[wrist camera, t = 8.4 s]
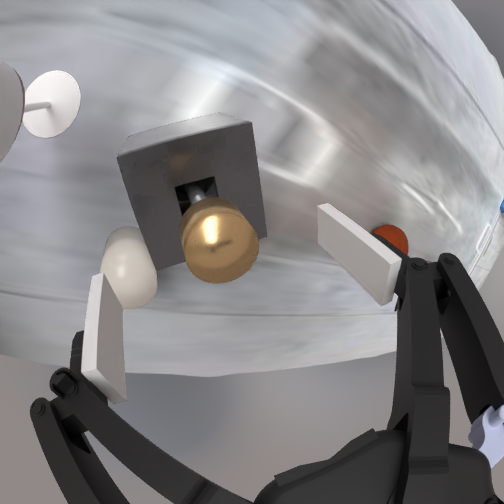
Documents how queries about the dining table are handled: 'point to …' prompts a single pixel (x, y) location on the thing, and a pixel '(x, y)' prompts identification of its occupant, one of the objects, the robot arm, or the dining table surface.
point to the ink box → (502, 208)
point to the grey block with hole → (189, 177)
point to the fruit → (393, 236)
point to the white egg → (129, 268)
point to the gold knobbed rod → (215, 235)
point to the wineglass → (36, 105)
